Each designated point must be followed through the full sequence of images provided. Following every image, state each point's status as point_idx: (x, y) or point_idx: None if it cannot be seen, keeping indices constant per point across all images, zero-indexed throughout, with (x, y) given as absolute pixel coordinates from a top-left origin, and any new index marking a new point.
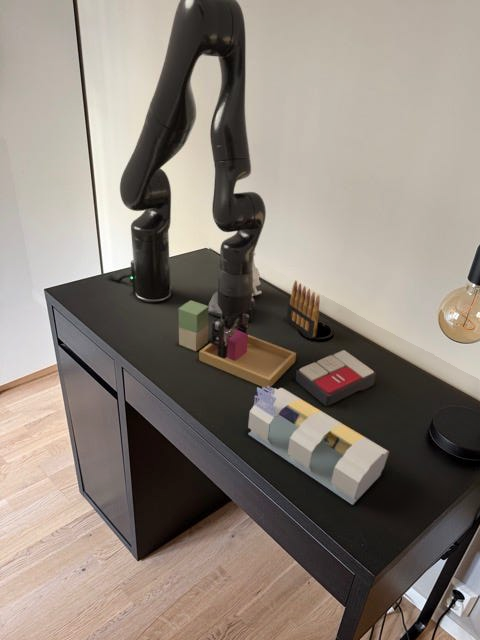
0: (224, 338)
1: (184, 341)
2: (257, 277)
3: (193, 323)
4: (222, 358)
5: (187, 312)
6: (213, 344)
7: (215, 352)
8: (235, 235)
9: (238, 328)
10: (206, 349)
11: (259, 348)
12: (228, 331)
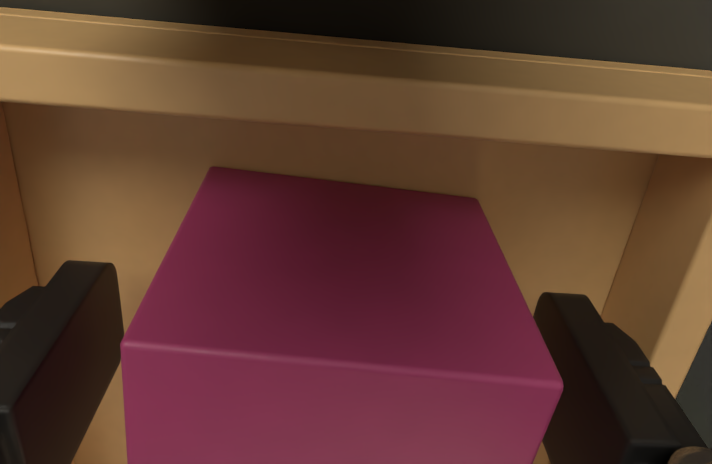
0: (130, 451)
1: None
2: None
3: None
4: (161, 255)
5: None
6: (208, 115)
7: (212, 128)
8: None
9: (616, 447)
10: (1, 98)
11: (544, 451)
12: (383, 418)
